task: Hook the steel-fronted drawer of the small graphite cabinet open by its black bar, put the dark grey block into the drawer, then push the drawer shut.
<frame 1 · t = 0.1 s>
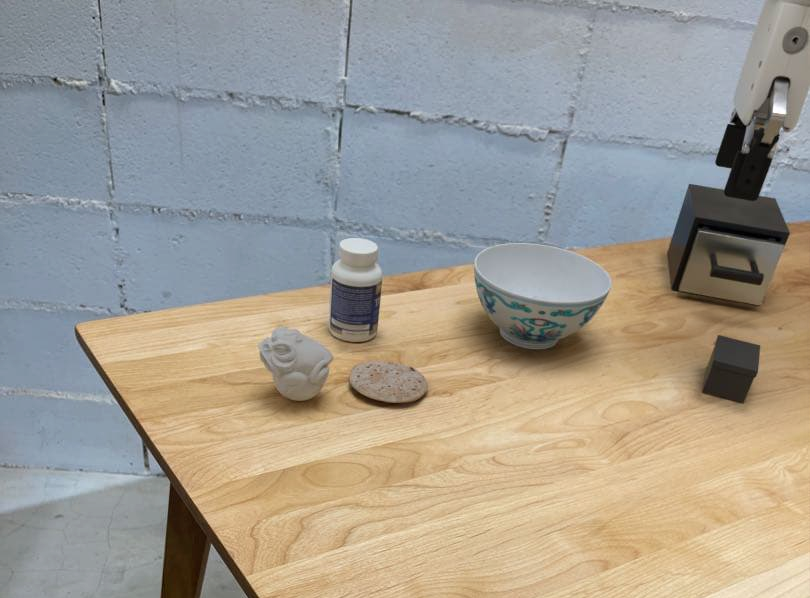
hand: (734, 181, 84), 19 cm above the table, tool pointing down, fingers open, 9 cm apart
flatbread: (386, 387, 84), on the table
dark grey block: (724, 384, 92), on the table
frog figurine: (295, 398, 81), on the table
drawer: (727, 258, 107), point 5 cm above the table, slide at 1.0 cm
chinaware: (528, 336, 96), on the table
pill bottle: (352, 333, 92), on the table
cabinet: (711, 278, 114), on the table
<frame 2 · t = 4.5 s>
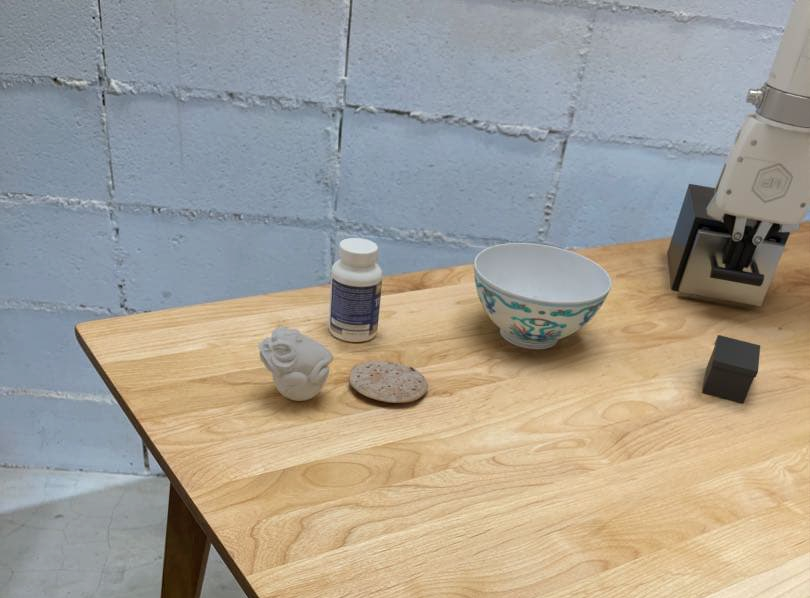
hand: (732, 270, 103), 5 cm above the table, tool pointing down, fingers closed
drawer: (727, 259, 107), point 5 cm above the table, slide at 1.3 cm, touching gripper
everything else where it was.
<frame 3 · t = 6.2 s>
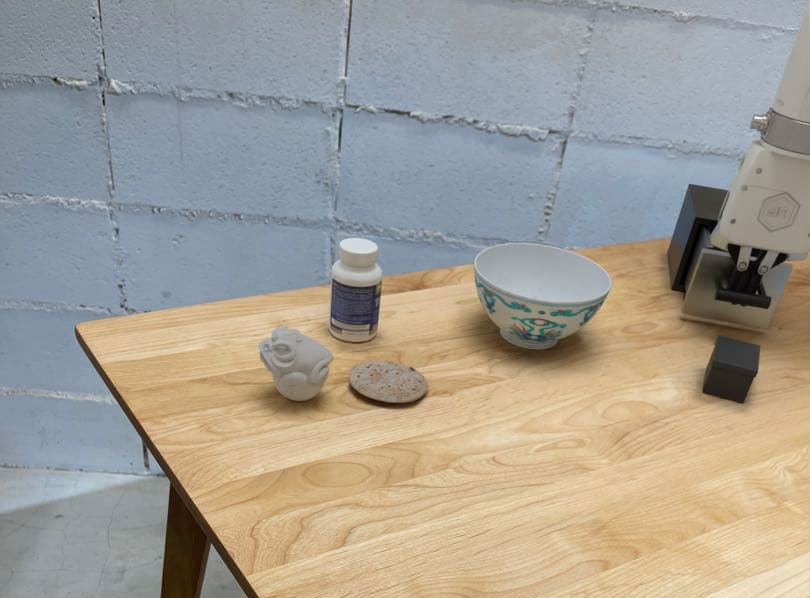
hand: (737, 300, 98), 4 cm above the table, tool pointing down, fingers closed
drawer: (732, 279, 102), point 5 cm above the table, slide at 7.7 cm
everything else where it was.
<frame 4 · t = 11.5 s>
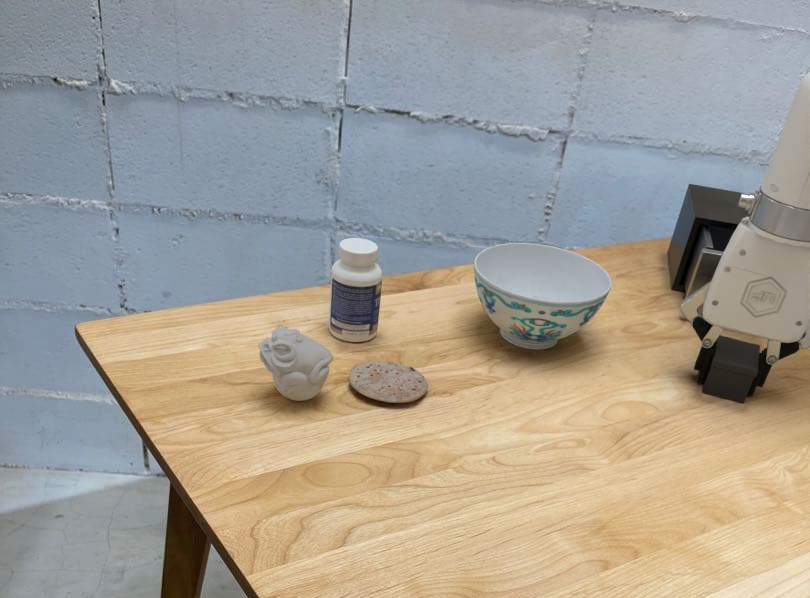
hand: (725, 381, 92), 0 cm above the table, tool pointing down, fingers closed on dark grey block, 4 cm apart
dark grey block: (724, 384, 92), on the table, touching gripper
everything else where it was.
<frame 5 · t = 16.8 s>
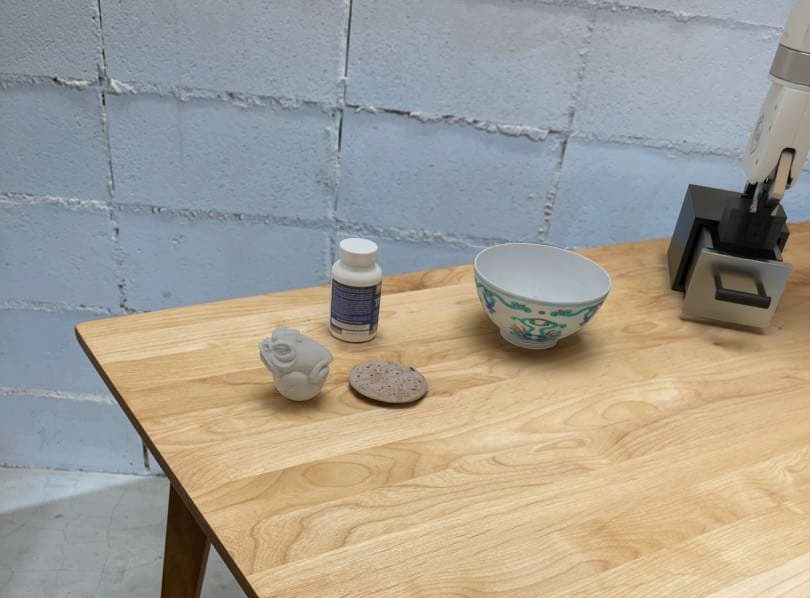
hand: (746, 236, 101), 9 cm above the table, tool pointing down, fingers closed on dark grey block, 4 cm apart
dark grey block: (744, 239, 101), point 9 cm above the table, touching gripper
everything else where it was.
when the fingers open (10 cm above the table, at t = 20.2 s): dark grey block drops 7 cm, resting on drawer.
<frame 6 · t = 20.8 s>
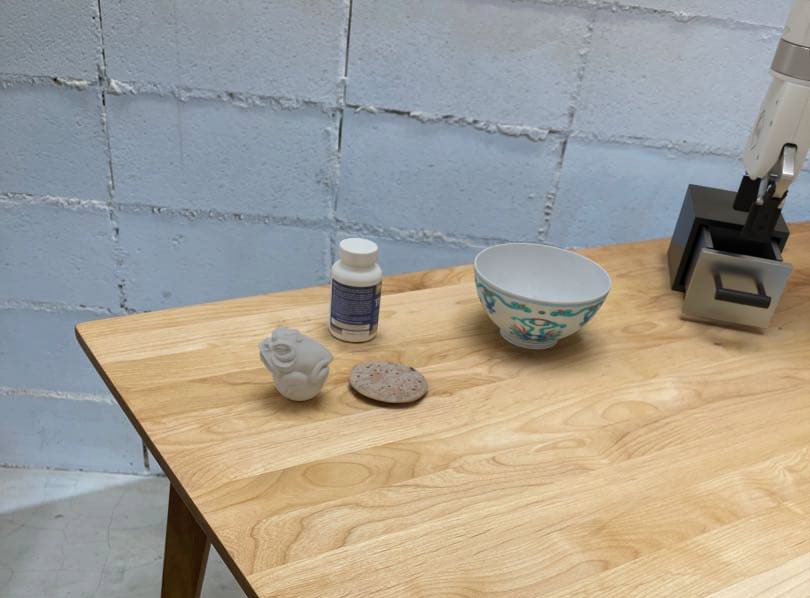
hand: (749, 225, 100), 11 cm above the table, tool pointing down, fingers open, 9 cm apart
dark grey block: (723, 294, 106), point 2 cm above the table, touching drawer
drawer: (732, 279, 102), point 5 cm above the table, slide at 7.7 cm, touching dark grey block
everything else where it was.
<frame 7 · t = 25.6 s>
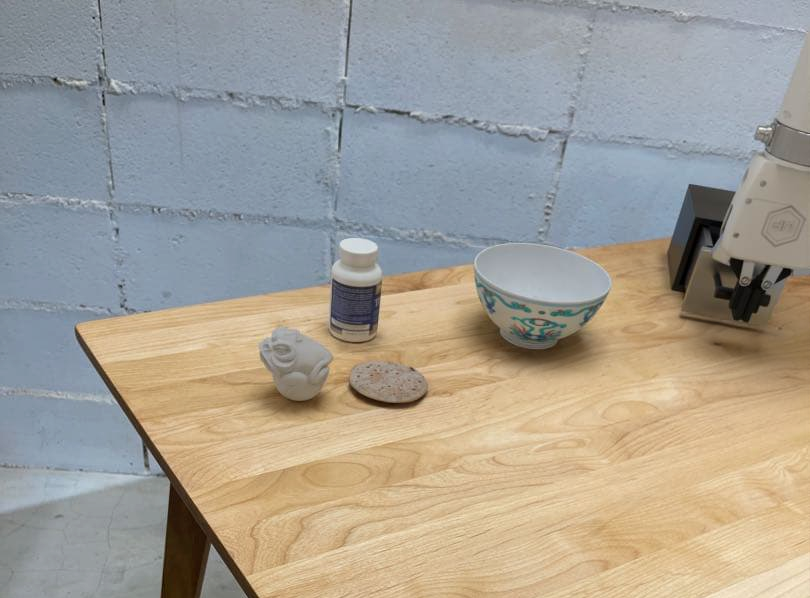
hand: (739, 316, 95), 4 cm above the table, tool pointing down, fingers closed
drawer: (732, 277, 103), point 5 cm above the table, slide at 7.2 cm, touching gripper, dark grey block
everything else where it was.
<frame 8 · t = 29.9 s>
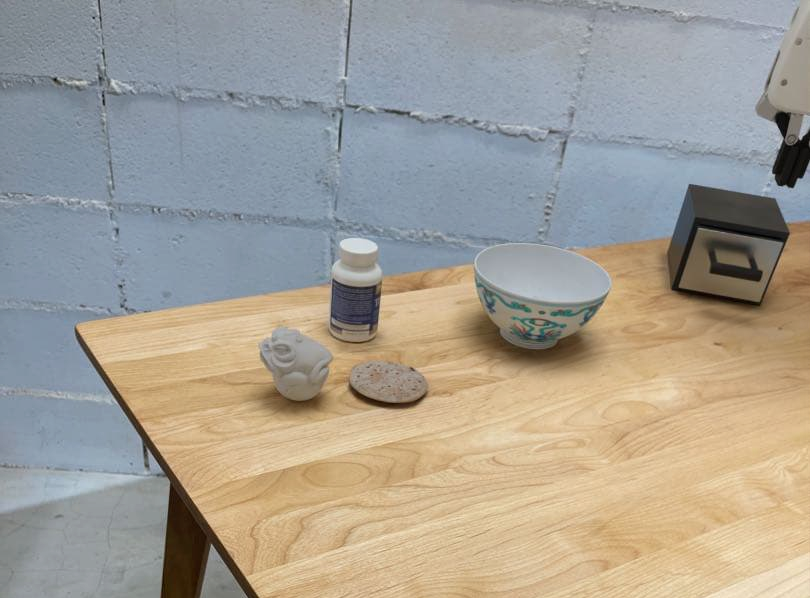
hand: (783, 182, 89), 18 cm above the table, tool pointing down, fingers closed
dark grey block: (717, 270, 111), point 2 cm above the table, touching drawer
drawer: (726, 255, 108), point 5 cm above the table, slide at 0.0 cm, touching cabinet, dark grey block
everything else where it was.
at the end: drawer pulled out 7.7 cm at the most during the clip, back to where it started at the end; dark grey block inside the target area in the cabinet (2.3 cm from its centre), point 2.0 cm above the cabinet's base; drawer slide at 0.0 cm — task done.
